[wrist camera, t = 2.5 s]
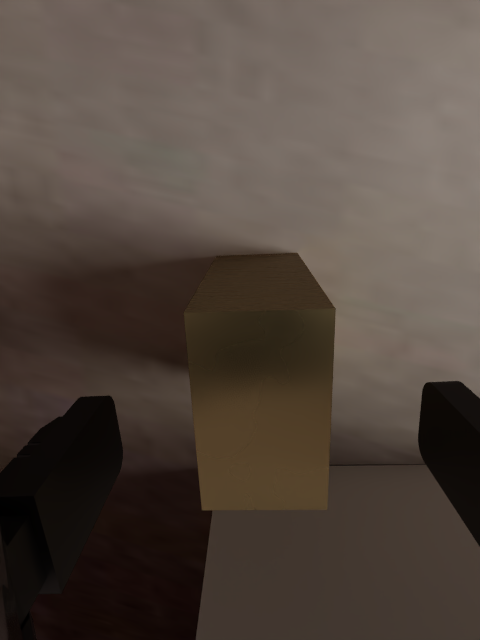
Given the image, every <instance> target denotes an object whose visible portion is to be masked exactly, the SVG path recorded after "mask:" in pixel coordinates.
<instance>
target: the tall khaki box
mask: <svg viewBox="0 0 480 640" xmlns="http://www.w3.org/2000/svg"><path fill="white" fill-rule="evenodd" d="M184 323H185V334H186V344H187V355H188V366H189V377H190V388H191V398H192V409H193V420H194V431H195V441H196V452H197V463H198V474H199V485H200V495H201V506H202V510H327V507H328V482H329V457H330V433H331V408H332V383H333V359H334V334H335V307H334V306H333V304H332V303H331V301H330V300H329V298H328V297H327V295H326V294H325V292H324V291H323V290H322V288H321V287H320V285H319V284H318V282H317V281H316V279H315V278H314V276H313V275H312V273H311V272H310V271H309V269H308V268H307V266H306V265H305V263H304V262H303V260H302V259H301V257H300V256H299V254H298V253H285V254H257V255H229V256H216V258H215V260H214V261H213V263H212V265H211V267H210V268H209V270H208V272H207V273H206V275H205V277H204V279H203V280H202V282H201V284H200V285H199V287H198V289H197V291H196V292H195V294H194V296H193V298H192V299H191V301H190V303H189V304H188V306H187V308H186V310H185V311H184Z"/></svg>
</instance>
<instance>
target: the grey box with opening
mask: <svg viewBox="0 0 480 640" xmlns="http://www.w3.org/2000/svg"><path fill="white" fill-rule="evenodd" d="M196 640H480V547H479V545H478V543H477V542H476V540H475V539H474V537H473V536H472V534H471V533H470V531H469V530H468V528H467V527H466V525H465V524H464V522H463V521H462V519H461V517H460V516H459V514H458V513H457V511H456V510H455V508H454V507H453V505H452V504H451V502H450V501H449V499H448V498H447V496H446V494H445V493H444V491H443V490H442V488H441V487H440V485H439V484H438V482H437V481H436V479H435V478H434V476H433V475H432V473H431V472H430V470H429V468H428V467H427V465H364V466H329V482H328V507H327V510H213V511H212V519H211V526H210V534H209V542H208V549H207V557H206V565H205V572H204V580H203V588H202V595H201V603H200V611H199V618H198V626H197V634H196Z"/></svg>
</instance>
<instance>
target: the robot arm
mask: <svg viewBox="0 0 480 640" xmlns="http://www.w3.org/2000/svg"><path fill="white" fill-rule="evenodd" d="M418 442H419V449H420V453H421V456H422V458H423V460H424V462H425V464H426V465H427V467H428V468H429V470H430V472H431V473H432V475H433V476H434V478H435V479H436V481H437V482H438V484H439V485H440V487H441V488H442V490H443V491H444V493H445V494H446V496H447V498H448V499H449V501H450V502H451V504H452V505H453V507H454V508H455V510H456V511H457V513H458V514H459V516H460V517H461V519H462V521H463V522H464V524H465V525H466V527H467V528H468V530H469V531H470V533H471V534H472V536H473V537H474V539H475V540H476V542H477V543H478V545H479V547H480V398H479V397H478V396H476V395H475V394H474V393H473V392H472V391H471V390H470V389H468V388H467V387H466V386H465V385H464V384H463V383H461V382H459V381H448V382H428V383H426V384H425V385H424V387H423V391H422V401H421V411H420V422H419V433H418ZM122 459H123V447H122V441H121V436H120V431H119V425H118V420H117V414H116V409H115V404H114V401H113V399H112V397H111V396H89V397H80V398H78V399H77V401H76V402H75V403H74V404H73V405H72V406H71V408H70V409H69V410H68V411H67V412H66V413H65V415H64V416H63V417H58V418H56V419H55V420H53V421H52V422H50V423H49V424H47V425H45V426H44V427H42V428H41V429H40V430H39V431H38V432H37V433H36V434H35V435H34V436H33V438H32V439H31V440H30V441H29V442H28V445H27V446H24V447H23V449H22V450H21V451H20V452H19V453H18V454H17V458H14V459H13V460H12V461H11V462H10V463H9V464H8V465H7V466H6V467H5V468H4V470H3V471H2V472H1V473H0V640H37V638H36V633H35V628H34V623H33V618H32V615H31V612H30V608H31V606H32V605H33V603H34V601H35V599H36V597H37V595H38V594H61V593H62V591H63V589H64V587H65V585H66V583H67V581H68V579H69V577H70V575H71V572H72V570H73V568H74V566H75V564H76V562H77V560H78V558H79V556H80V554H81V551H82V549H83V547H84V545H85V543H86V541H87V539H88V537H89V535H90V533H91V531H92V528H93V526H94V524H95V522H96V520H97V518H98V516H99V514H100V512H101V510H102V507H103V505H104V503H105V501H106V499H107V497H108V495H109V493H110V491H111V489H112V486H113V484H114V482H115V480H116V478H117V476H118V474H119V472H120V469H121V465H122Z"/></svg>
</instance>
